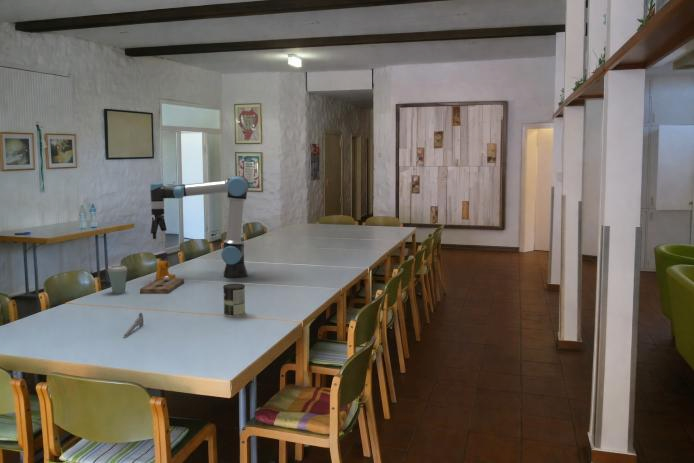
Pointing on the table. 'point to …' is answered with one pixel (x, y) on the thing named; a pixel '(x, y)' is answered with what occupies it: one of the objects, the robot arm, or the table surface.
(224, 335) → the table surface
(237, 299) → the coffee can
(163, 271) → the bracket
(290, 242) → the table surface
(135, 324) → the caliper
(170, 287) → the wooden board with holes
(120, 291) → the disposable coffee cup
